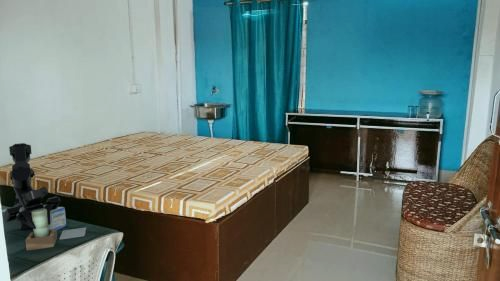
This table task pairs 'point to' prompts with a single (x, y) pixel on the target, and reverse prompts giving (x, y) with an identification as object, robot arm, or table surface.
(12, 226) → the table surface
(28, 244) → the pocket frame
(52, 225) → the medicine box
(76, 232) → the slate pad
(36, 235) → the pale green cylinder
